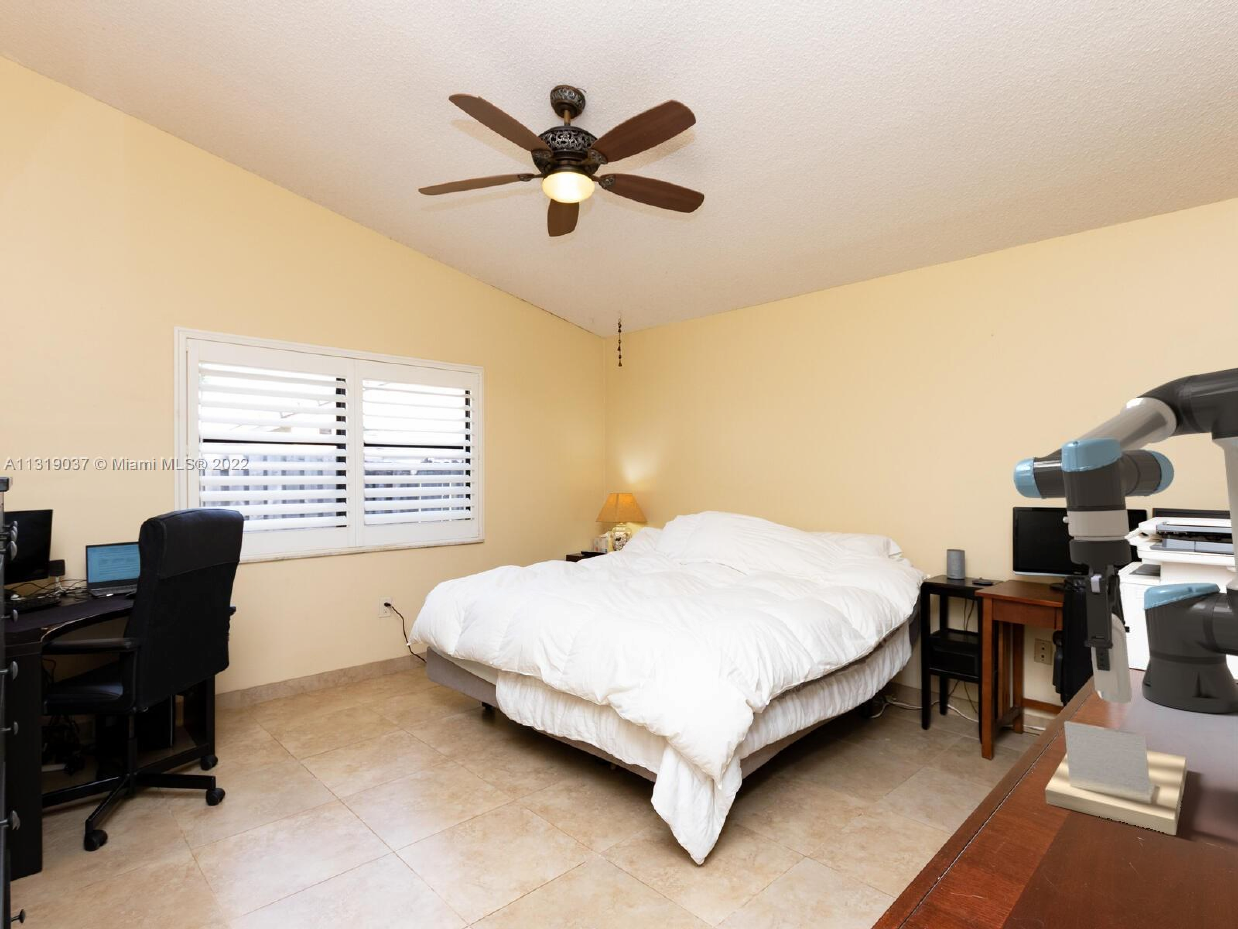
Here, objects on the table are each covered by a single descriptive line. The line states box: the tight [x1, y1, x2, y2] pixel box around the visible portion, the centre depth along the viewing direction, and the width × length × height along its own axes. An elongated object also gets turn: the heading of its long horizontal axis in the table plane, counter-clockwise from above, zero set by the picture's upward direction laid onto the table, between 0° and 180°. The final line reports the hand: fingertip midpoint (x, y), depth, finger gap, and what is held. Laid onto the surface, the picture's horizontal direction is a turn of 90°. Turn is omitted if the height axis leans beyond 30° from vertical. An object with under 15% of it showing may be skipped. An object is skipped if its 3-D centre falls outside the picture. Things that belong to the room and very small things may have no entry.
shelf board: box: [1044, 749, 1188, 836], centre depth 95 cm, size 24×14×2 cm, turn 135°
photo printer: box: [1091, 614, 1133, 704], centre depth 98 cm, size 10×4×12 cm, turn 146°
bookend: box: [1063, 720, 1156, 805], centre depth 91 cm, size 7×9×9 cm
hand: (1112, 682), depth 97 cm, fingers closed on photo printer, 10 cm apart
